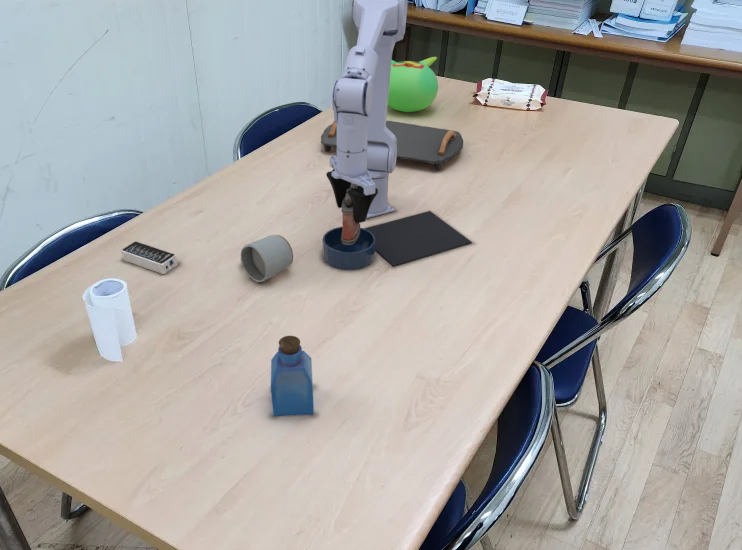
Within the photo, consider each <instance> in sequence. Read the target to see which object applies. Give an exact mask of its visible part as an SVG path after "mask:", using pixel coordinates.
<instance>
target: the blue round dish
mask: <svg viewBox="0 0 742 550" xmlns="http://www.w3.org/2000/svg"><path fill="white" fill-rule="evenodd" d="M364 228H365V227H364ZM364 228H363V227H360V234H359V237H358V239H357V240H356V241H355V243H354V244H352V245H345V244H343V243H342V242H341V237H342V226H338V227H334V228H332V229H330V230H328V231H326V232H325V233H324V234H323V236H322V243H321V244H322V258H323V261H324V262H325V263H326V264H327V265H328V266H330V267H333V268H334V269H338V270H343V271H355V270H361V269H364V268H366V267H369V266H370V265H371V264H373V263H374V260H375V257H376V251H375V241H376V239H375V237H374V235H373V234H372V233H371V232H370V231H368V230H366V229H364Z"/></svg>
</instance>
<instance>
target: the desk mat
mask: <svg viewBox="0 0 742 550" xmlns="http://www.w3.org/2000/svg"><path fill="white" fill-rule="evenodd" d="M364 229H366V230H368V231H370V232H371V233H372V234H373V235H374V237H375V239H376V241H375V253H377V254H378V255H379V256H381V257H382V259H384V260H385V261H386V262H387V263H388V264H390V265H391V266H392V267H393V268H394V267H398V266H402V265H405V264H408V263H411V262H414V261H418V260H422V259H424V258H428V257H431V256H434V255H438V254H442V253H444V252H447V251H452V250H455V249H457V248H461V247H464V246H468V245H471V244H472V243H473V242H472V241H471V240H470V239H469V238H467V237H466V236H465V235H463V234H462V233H461V232H460V231H457V229H455V228H454V227H453V226H451V225H450V224H448V223H447V222H445V220H443V219H442V218H440V217H439V216H437V215H436V214H434V213H433V212H432V211H431V210H428V211H424V212H420V213H416V214H413V215H409V216H406V217H402V218H398V219H394V220H390V221H387V222H383V223H379V224H376V225H371V226H368V227H364Z"/></svg>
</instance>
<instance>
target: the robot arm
mask: <svg viewBox="0 0 742 550" xmlns="http://www.w3.org/2000/svg"><path fill="white" fill-rule="evenodd" d="M352 6H353V7H352V18H353V22H354V24H355V27H356V29H357V32H358V36H357V40H356V45H355V46H352V47H351V49H349V51H348V53H347V56H346V60H345V63H344V67H343V70H342V74H341V76H340V77H339V79H338V80H337V79H336V80H334V83H333V86H332V91H331V92H332V93H331V95H332V96H331V104H332V111H333V122H334V121H335V123H337V147H336V155H332V156H331V155H330V156H329V157H328V159H329V167H330V168H332V170H330V171H327V172H326V173H325V174H326V175H325V176H326V177H327V179H328V181H329V183H330V185H331V188H332V191H333V194H334V199H335V202H336V206H337V208H338V209H342V202H343V200H344V198H345V197H346V192H347V189H350V186H351V184H352V183H353V184H356V185H357V188H356V189H352V190H348V194H349V196H350V198H351V201H352V206H353V215H354V221H355V223H360V224H361V223H363V222H366V219H369V218H373V217H377V216H382V215H385V214H388V213H393V212H395V208H394V207H393V206H391V205H390V204H389V203H388V195H389V179H390V178H389V175H390V174H392V173H393V172H394V171H395V169H396V165H397V159H398V158H397V139H396V136H395V135H394V134H393V133H392V132H391V131H390V130H389V129H388V128H387V127H386V121H387V117H388V107H389V106H388V95H389V83H390V72H391V60H393V51H394V48H395V45H396V43H397V42H400V41H402V40H404V37H405V34H406V26H407V15H408V0H353V5H352ZM367 140H369V141H379V142H385V143H378V142H368V141H367Z"/></svg>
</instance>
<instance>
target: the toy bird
mask: <svg viewBox="0 0 742 550" xmlns="http://www.w3.org/2000/svg"><path fill="white" fill-rule="evenodd" d="M437 59H438V57H437V56H431V57H428V58H426V59H423V60H420V61H414V60H400V61H395V60H393V59H392V60H391V72H390V83H389V95H388V106H387V107H389V108H391V109H392V110H395V111H398V112H404V113H416V112H419V111H423V110H425V109H426V108H428V107H429V106H431V105H432V104H433V102H434V101H435V99H436V97H437V94H438V92H439V91H438V90H439V82H438V77H437V75H436V74H435V72H434V71H433V69H431V68H430V66H432V65H433V63H435V62H436V61H437Z"/></svg>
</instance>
